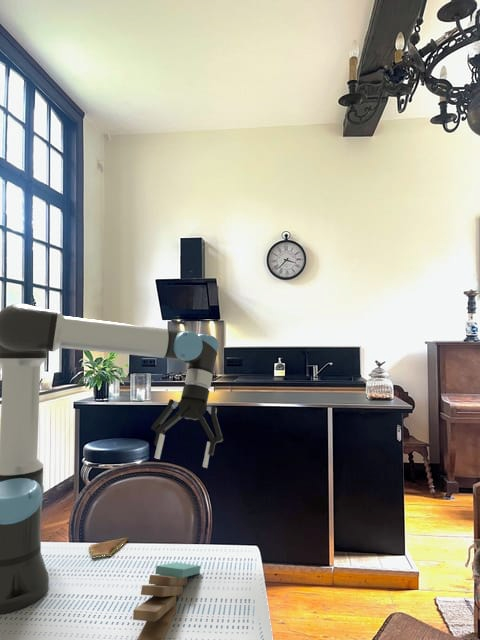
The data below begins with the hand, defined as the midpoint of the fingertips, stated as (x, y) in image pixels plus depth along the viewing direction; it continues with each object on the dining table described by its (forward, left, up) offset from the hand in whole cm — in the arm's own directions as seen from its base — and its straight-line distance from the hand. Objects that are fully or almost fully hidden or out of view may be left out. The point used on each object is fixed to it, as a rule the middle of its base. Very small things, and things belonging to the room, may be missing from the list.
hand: (180, 462), depth 120 cm
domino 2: (+4, -17, -22) cm, 28 cm away
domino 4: (+4, -26, -21) cm, 34 cm away
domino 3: (+5, -22, -21) cm, 31 cm away
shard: (-20, -3, -23) cm, 31 cm away
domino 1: (+5, -12, -22) cm, 25 cm away
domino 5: (+5, -28, -22) cm, 36 cm away
